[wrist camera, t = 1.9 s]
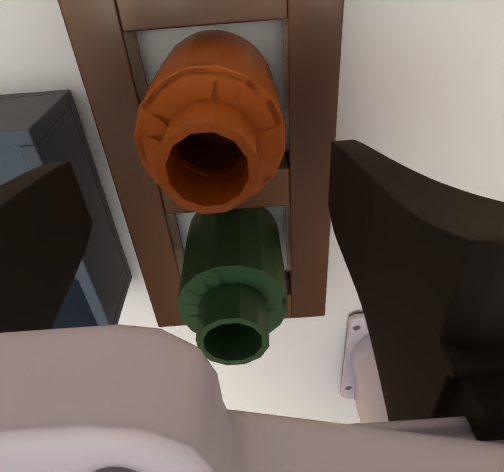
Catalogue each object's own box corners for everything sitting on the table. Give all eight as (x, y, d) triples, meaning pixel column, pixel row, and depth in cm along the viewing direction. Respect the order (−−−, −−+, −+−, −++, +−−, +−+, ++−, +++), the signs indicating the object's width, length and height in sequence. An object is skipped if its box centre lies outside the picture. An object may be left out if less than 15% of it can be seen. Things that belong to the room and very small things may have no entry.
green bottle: (279, 265, 24) (293, 374, 18) (196, 271, 24) (183, 382, 18) (276, 193, 21) (292, 296, 15) (182, 200, 21) (161, 305, 15)
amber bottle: (274, 140, 20) (292, 233, 14) (171, 148, 20) (143, 243, 14) (270, 25, 17) (290, 78, 11) (148, 34, 17) (99, 93, 11)
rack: (335, -56, 15) (347, -54, 13) (319, 292, 26) (324, 316, 24) (67, -33, 15) (47, -29, 14) (162, 303, 26) (158, 327, 24)
